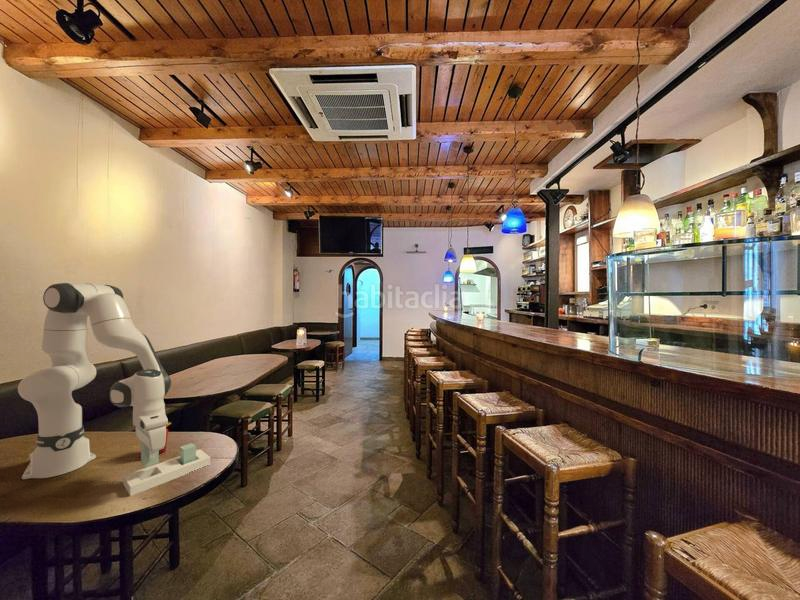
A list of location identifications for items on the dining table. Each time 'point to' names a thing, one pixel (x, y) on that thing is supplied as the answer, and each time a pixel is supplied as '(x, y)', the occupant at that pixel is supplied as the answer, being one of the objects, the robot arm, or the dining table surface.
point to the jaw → (144, 456)
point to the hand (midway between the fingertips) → (149, 455)
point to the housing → (166, 470)
